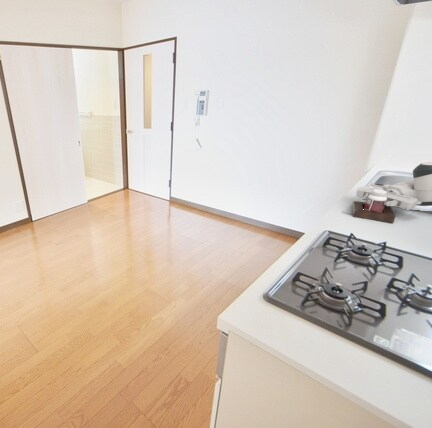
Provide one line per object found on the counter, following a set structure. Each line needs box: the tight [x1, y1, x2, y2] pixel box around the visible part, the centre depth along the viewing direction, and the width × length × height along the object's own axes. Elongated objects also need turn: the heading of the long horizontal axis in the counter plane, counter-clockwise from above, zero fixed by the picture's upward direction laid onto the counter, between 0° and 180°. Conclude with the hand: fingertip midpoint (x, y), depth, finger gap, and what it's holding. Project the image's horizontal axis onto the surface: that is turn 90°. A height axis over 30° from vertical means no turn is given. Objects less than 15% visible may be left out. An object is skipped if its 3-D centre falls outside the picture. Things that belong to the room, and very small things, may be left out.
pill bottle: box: [364, 189, 387, 212], centre depth 122 cm, size 6×6×11 cm
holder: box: [351, 200, 396, 224], centre depth 124 cm, size 13×13×3 cm
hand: (375, 201), depth 121 cm, fingers closed on pill bottle, 6 cm apart
